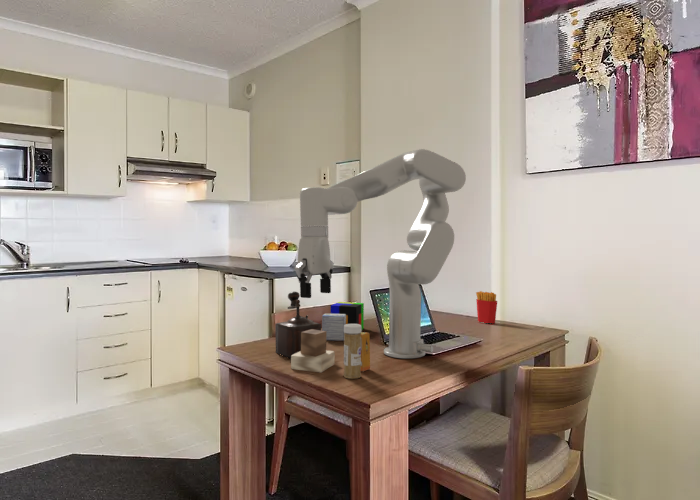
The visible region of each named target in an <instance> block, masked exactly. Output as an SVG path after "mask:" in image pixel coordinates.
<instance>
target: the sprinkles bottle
mask: <svg viewBox="0 0 700 500" xmlns="http://www.w3.org/2000/svg"><path fill="white" fill-rule="evenodd" d="M361 332H363V329H362V327H361V325H360V324H345V325H344V341H343V343H344V344H343V365H344V367H343V369H344V370H343V377H344V378H345V379H349V380H354V379H355V380H357V379H359V378H361V377H362V374H361V372H362V371H360V370H361V369H360V368H361V366H360V365H361Z"/></svg>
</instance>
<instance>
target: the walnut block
mask: <svg viewBox="0 0 700 500" xmlns="http://www.w3.org/2000/svg"><path fill="white" fill-rule="evenodd" d="M326 333H327V331H322V329H321V330H314V329H311V330H307V331H303V332H301V354H304V355H310V356H315V357H316V356H319V355H322V354H324V353H326V350H327V340H326Z"/></svg>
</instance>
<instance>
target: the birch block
mask: <svg viewBox="0 0 700 500" xmlns="http://www.w3.org/2000/svg"><path fill="white" fill-rule="evenodd" d="M335 352H336V351H334V350H327V349H326V353H324V354H322V355H319V356H316V357H315V356H310V355H304V354H301V351H299V352H297V353H295V354H293V355H291V358H290V369H291V370H295V371H296V370H297V371H298V370H299V371H305V372H306V371H307V372H313V373H315V372H316V373H323V372H325V371H326V370H327V369H329V368H331V367H332V366H335V358H336V357H335Z"/></svg>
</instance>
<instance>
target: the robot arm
mask: <svg viewBox="0 0 700 500" xmlns="http://www.w3.org/2000/svg"><path fill="white" fill-rule="evenodd" d="M466 177H467V176H466V172H465V170H464V168H463V167H462V166H461V165H460V164H458V163H457V162H455V161H452V160H451V159H449V158H447V157H444V156H443V155H440V154H438V153H435V152H434V151H431V150H429V149H425V148H419V149H416V150H412V151H407V152H403V153H401V154H398V155H397V156H394V157H392V158H391V159H388V160H386V161H384V162H382V163H380V164H378V165H375V166H373V167H371V168H369V169H366V170H364V171H362V172H361V173H358V174H356V175H354V176H352V177H349V178H346V179H345V180H342V181H340V182H338V183H336V184H334V185H331V186H330V187H326V188H325V187H315V186H313V187H310V186H309V187H305V188H302V189H301V191H300V193H299V204H300V205H299V208H300V209H299V210H300V238H299V242H298V247H297V248H298V250H297V265H296V266H295V267H294V271H295V273H296V278H297V279H298V283H299V295H300V296H299V298H302V299H303V298H304V299H311V298H312V283H311V280H312V279H311V278H312V276H317V275H319V276H320V278H319V283H320V284H319V287H320V289H319V291H320V293H322V294H331V293H332V286H331V282H332V281H331V279H332V278H333V277H332V274H333V271H334V270H333V268H334V266H335V263H334V261H333V260H331V248H330V241H329V216H330V215H331V216H332V215H333V216H334V215H345V214H349V213H351V212H353V211H354V210H355V208H357V205H358V202H360V201H361V202H362V201H365V200H370V199H375V198H378V197H380V196H384V195H386V194H388V193H390V192H392V191H394V190H396V189H397V188H399V187H402V186H403V185H405V184H408V183H409V182H412V181H414V180H418V184H419V188H420V190H421V193H422V198H423V199H422V200H423V202H422V206H421V208H420V211H419V212H418V214H417V216H416V218H415V219H414V221H413V223H412V225H411V227H410V229H409V230H408V233H407V236H406V243H407V246H408V247H409V248H411V249H412V250H405V249H404V250H403V249H402V250H398V251H396V252H394V253H393V254H391V255H390V256H389V258H388V260H387V264H386V271H387V273H386V274H387V280H388V286H389V308H388V309H389V311H388V313H389V315H388V317H389V319H388V323H389V324H388V325H389V326H388V329H389V330H388V333H389V335H388V346H387V347H385V348H384V349H383V354H384V355H386V356H387V357H391V358H395V359H419V358H423V357H424V356H425V355H426V353H432V352H433V351H434V346H433V345H432V344H429V343H428V344H427V343H424V339H423V338H421V324H422V323H421V322H422V321H421V320H422V319H421V316H422V315H421V314H422V312H421V310H422V294H421V289H420V285H428V284H430V283H432V282H434V280H435V279H436V278H437V277H438V275H439V274H440V272H441V270H442V268H443V267H444V265H445V262H446V260H447V258H448V257H449V255H450V253H451V250H452V249H453V247H454V244H455V243H454V242H455V233H454V229H453V227H452V225H450V224H449V223H448V222H447V219H448V216H449V212H450V208H449V206H450V205H449V203H448V198H447V196H446V193H454V192H458V191H459V190H460V191H461V189H462V188H463V187H464V185H465V184H466Z"/></svg>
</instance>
